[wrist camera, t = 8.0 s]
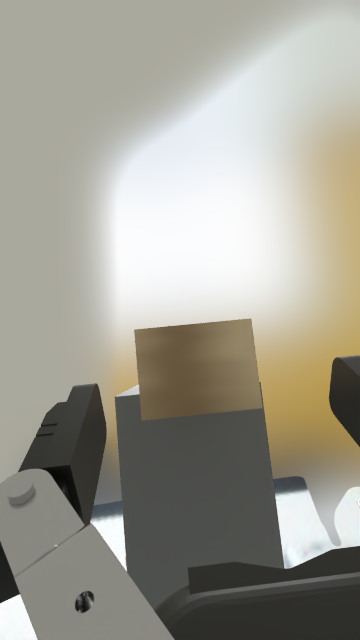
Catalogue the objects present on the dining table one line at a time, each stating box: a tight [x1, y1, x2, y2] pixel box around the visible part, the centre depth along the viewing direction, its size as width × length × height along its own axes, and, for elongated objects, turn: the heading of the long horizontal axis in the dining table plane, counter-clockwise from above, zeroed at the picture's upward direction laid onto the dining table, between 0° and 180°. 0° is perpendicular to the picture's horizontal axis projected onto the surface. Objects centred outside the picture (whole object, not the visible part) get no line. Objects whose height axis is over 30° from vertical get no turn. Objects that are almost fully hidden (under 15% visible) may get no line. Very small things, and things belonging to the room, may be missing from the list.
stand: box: [115, 382, 284, 610], centre depth 30 cm, size 10×20×37 cm, turn 1°
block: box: [134, 319, 263, 421], centre depth 26 cm, size 4×30×3 cm, turn 1°
